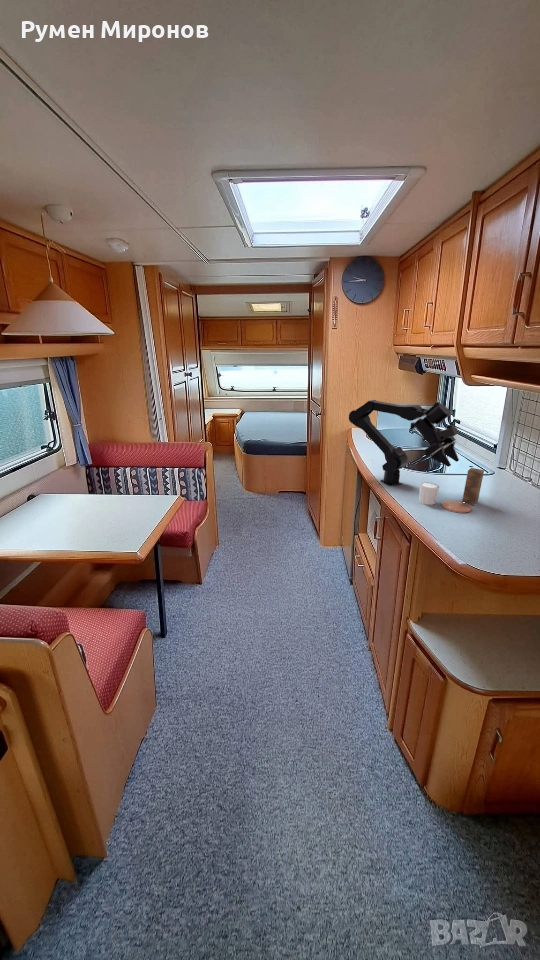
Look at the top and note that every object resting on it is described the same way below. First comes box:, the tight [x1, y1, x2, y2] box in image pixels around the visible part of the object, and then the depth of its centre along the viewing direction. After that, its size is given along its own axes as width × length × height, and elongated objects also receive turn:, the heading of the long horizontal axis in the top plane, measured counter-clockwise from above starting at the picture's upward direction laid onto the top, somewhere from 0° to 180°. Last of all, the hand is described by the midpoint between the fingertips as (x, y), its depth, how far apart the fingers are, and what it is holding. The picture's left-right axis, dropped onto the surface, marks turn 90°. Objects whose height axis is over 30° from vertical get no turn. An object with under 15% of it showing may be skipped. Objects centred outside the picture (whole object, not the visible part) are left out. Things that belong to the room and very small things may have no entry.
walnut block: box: [461, 467, 485, 506], centre depth 151 cm, size 4×4×13 cm
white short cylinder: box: [418, 481, 440, 506], centre depth 152 cm, size 7×7×7 cm
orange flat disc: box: [441, 500, 472, 514], centre depth 148 cm, size 10×10×1 cm
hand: (453, 463), depth 153 cm, fingers open, 9 cm apart
